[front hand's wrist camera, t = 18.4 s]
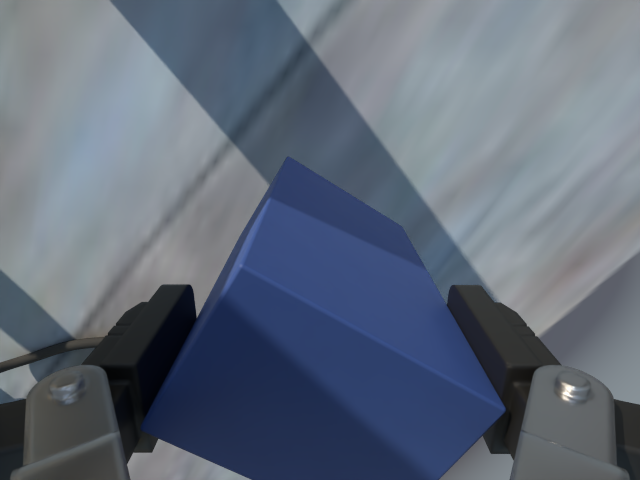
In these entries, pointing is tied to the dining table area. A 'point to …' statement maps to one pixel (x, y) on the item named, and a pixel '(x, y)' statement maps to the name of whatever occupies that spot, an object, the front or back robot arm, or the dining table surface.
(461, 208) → the dining table surface
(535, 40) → the dining table surface
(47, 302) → the dining table surface
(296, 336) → the block
